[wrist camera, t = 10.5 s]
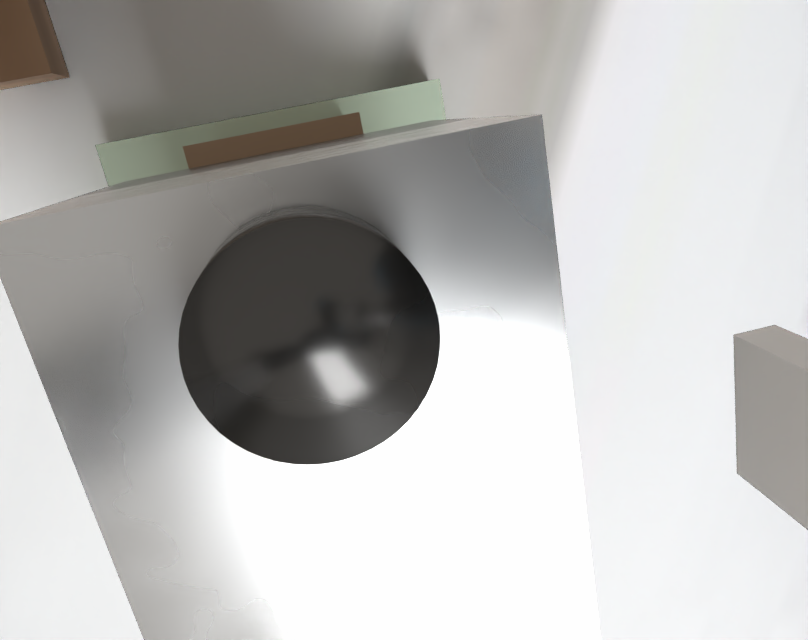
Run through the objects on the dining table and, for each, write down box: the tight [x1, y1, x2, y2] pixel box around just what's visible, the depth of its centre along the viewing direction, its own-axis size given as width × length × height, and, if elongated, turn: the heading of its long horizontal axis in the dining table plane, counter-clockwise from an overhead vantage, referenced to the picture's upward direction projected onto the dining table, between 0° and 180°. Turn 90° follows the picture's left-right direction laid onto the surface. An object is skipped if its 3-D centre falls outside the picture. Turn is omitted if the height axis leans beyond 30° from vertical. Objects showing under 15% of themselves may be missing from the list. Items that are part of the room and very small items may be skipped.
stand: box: [95, 79, 446, 186], centre depth 19 cm, size 10×13×6 cm
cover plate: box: [0, 115, 601, 640], centre depth 11 cm, size 11×7×5 cm, turn 11°
